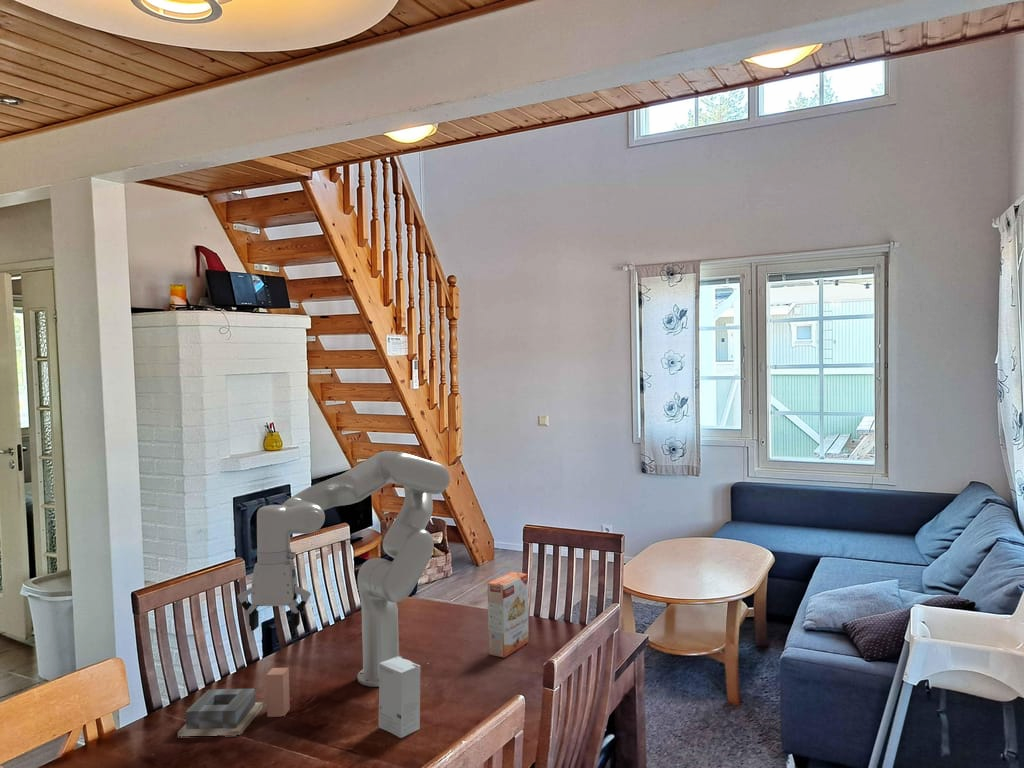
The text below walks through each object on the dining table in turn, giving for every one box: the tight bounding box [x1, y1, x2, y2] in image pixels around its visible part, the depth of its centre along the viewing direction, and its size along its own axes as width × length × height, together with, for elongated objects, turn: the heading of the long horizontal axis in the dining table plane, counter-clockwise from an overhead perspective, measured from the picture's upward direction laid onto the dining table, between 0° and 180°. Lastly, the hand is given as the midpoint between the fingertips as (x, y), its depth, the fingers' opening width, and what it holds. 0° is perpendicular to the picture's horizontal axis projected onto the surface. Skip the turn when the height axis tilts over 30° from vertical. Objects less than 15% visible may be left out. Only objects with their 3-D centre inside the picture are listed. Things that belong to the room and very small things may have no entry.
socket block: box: [177, 688, 264, 738], centre depth 163 cm, size 14×14×5 cm
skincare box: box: [378, 657, 421, 739], centre depth 157 cm, size 8×6×15 cm
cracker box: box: [487, 571, 530, 659], centre depth 203 cm, size 14×6×21 cm, turn 148°
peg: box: [265, 667, 291, 718], centre depth 167 cm, size 4×4×10 cm
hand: (274, 628), depth 166 cm, fingers open, 9 cm apart
